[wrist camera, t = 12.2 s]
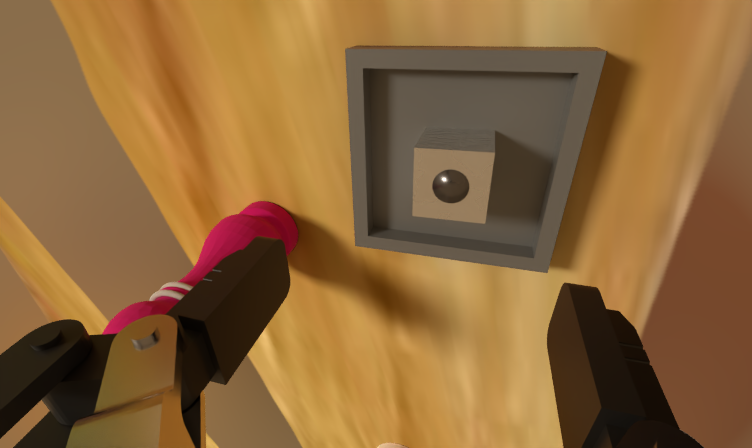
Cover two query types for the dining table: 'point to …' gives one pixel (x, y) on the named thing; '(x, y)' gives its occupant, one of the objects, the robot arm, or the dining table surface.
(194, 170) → the dining table surface
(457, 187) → the grey dotted cube
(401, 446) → the cup
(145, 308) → the pepper mill
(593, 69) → the tray
